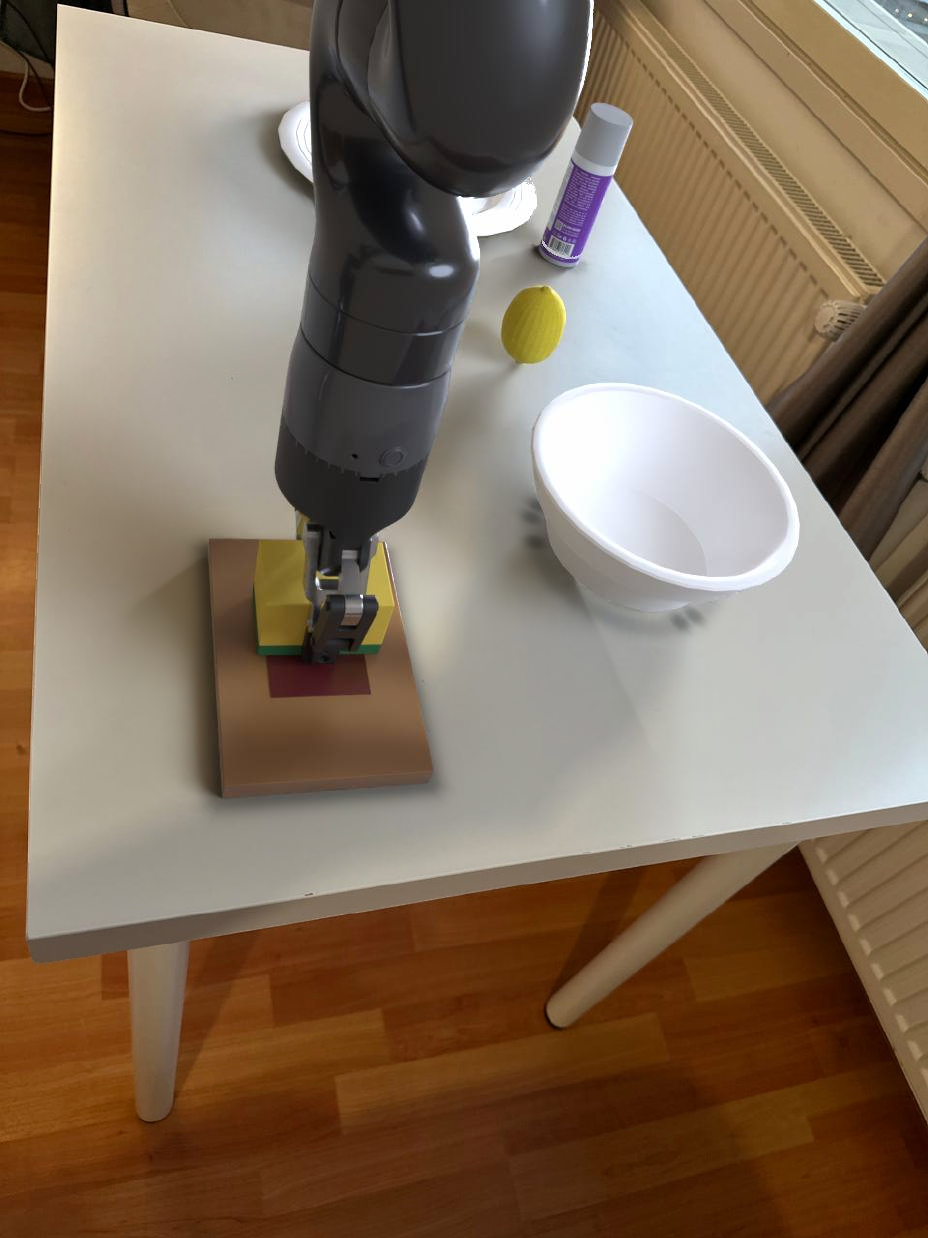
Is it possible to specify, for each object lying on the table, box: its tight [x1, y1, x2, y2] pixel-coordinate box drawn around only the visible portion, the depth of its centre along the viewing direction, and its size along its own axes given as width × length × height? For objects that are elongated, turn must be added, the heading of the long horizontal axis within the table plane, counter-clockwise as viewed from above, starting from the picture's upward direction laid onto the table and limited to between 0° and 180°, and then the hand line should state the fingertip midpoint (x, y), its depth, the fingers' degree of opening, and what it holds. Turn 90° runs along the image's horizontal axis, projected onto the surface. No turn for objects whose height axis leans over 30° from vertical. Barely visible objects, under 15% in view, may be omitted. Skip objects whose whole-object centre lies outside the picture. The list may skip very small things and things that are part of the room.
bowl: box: [530, 382, 801, 613], centre depth 67 cm, size 21×21×8 cm
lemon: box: [500, 285, 567, 365], centre depth 79 cm, size 6×6×8 cm
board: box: [207, 537, 435, 799], centre depth 55 cm, size 18×12×2 cm, turn 12°
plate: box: [277, 99, 537, 239], centre depth 97 cm, size 29×29×2 cm
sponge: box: [253, 538, 394, 655], centre depth 54 cm, size 8×5×5 cm, turn 102°
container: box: [538, 102, 634, 268], centre depth 91 cm, size 5×5×15 cm
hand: (314, 621), depth 55 cm, fingers closed on sponge, 5 cm apart
